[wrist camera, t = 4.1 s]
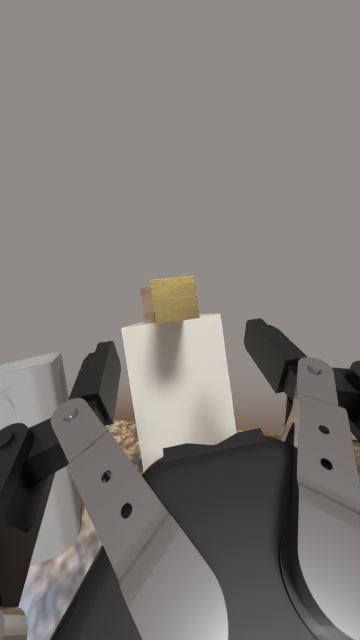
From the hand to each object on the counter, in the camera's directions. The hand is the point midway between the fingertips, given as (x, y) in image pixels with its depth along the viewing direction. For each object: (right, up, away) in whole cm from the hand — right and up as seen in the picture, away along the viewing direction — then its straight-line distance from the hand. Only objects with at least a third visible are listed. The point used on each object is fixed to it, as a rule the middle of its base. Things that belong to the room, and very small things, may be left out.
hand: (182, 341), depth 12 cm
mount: (+3, -30, +21) cm, 37 cm away
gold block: (-1, +2, +14) cm, 14 cm away
